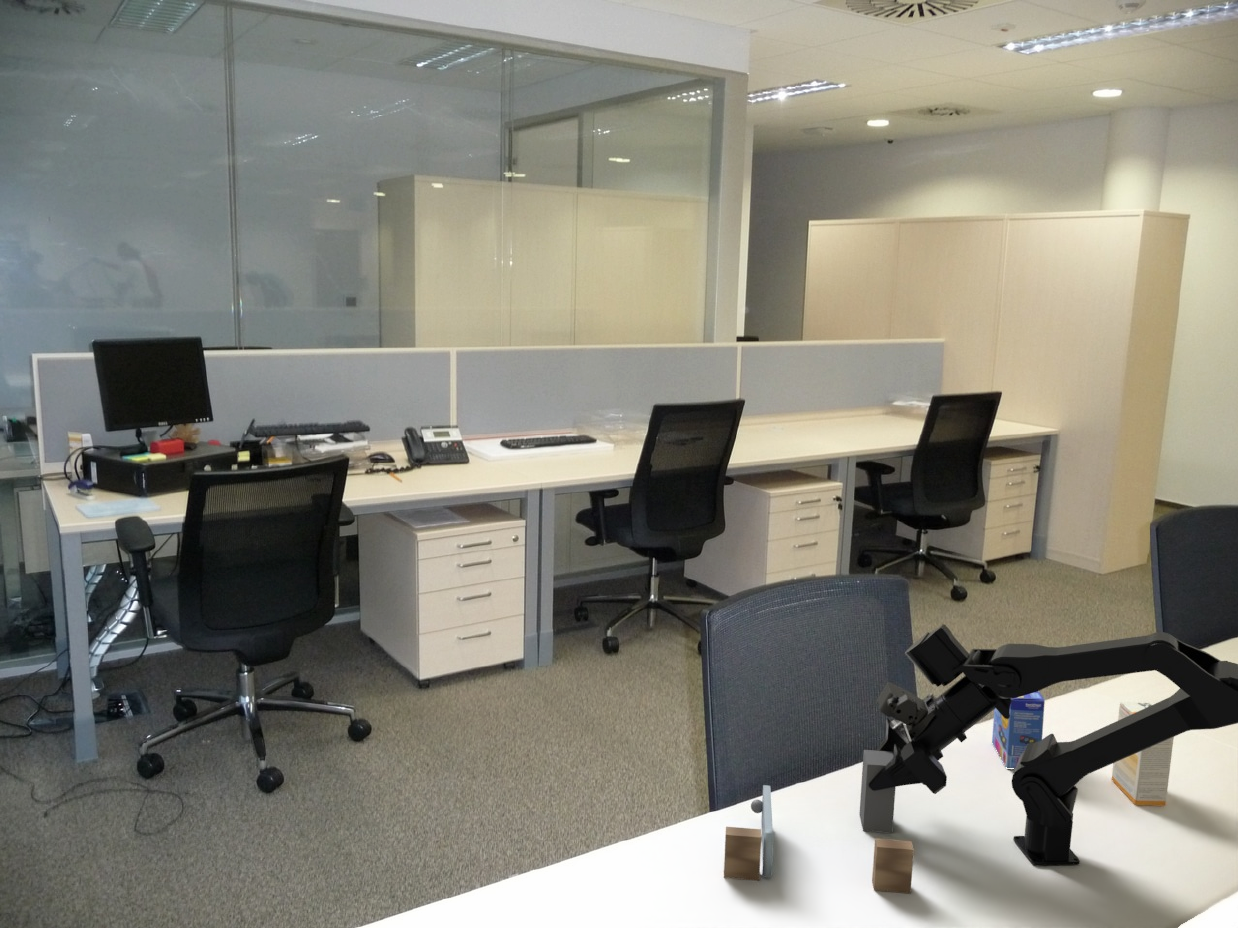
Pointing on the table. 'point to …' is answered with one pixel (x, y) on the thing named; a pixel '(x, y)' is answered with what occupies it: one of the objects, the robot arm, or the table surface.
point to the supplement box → (1144, 767)
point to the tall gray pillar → (876, 794)
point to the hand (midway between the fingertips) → (868, 779)
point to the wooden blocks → (887, 866)
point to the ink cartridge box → (1018, 727)
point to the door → (765, 829)
